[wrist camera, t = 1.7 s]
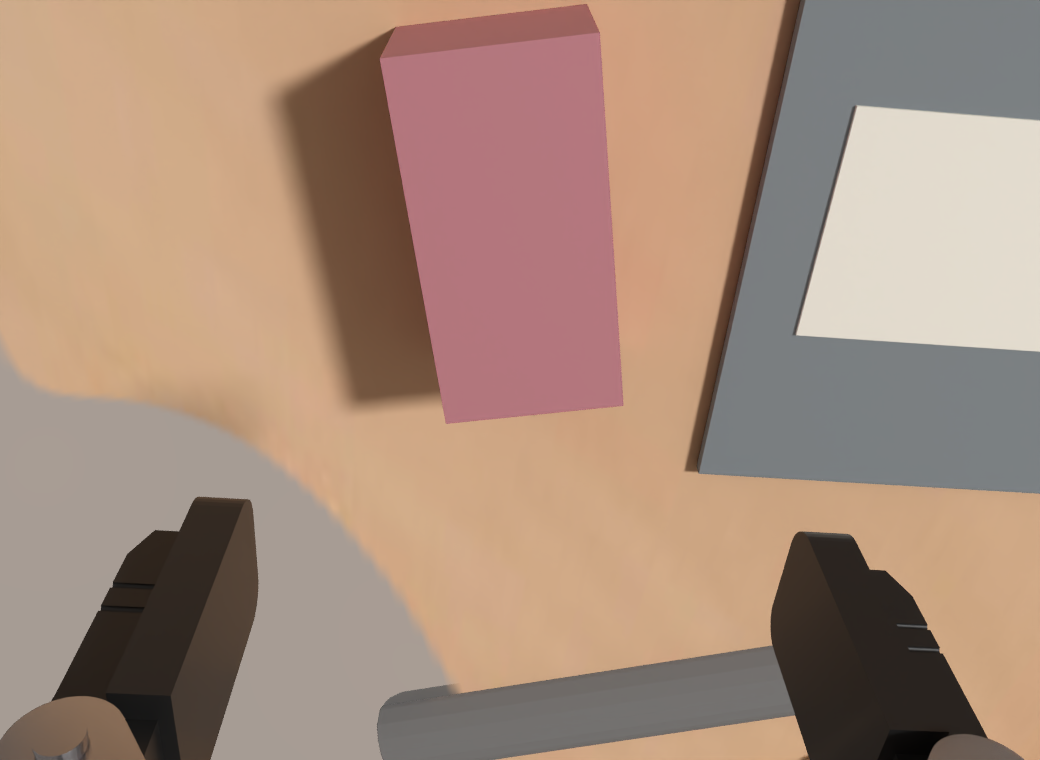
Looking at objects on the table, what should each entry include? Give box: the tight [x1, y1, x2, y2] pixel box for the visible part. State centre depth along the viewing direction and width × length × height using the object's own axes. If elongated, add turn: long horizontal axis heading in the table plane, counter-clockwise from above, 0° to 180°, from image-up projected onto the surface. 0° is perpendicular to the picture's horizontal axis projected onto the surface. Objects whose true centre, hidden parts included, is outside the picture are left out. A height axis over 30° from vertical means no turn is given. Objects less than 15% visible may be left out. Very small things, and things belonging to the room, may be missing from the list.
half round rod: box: [377, 646, 795, 760], centre depth 38 cm, size 4×20×2 cm, turn 101°
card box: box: [380, 4, 623, 424], centre depth 25 cm, size 10×5×4 cm, turn 6°
